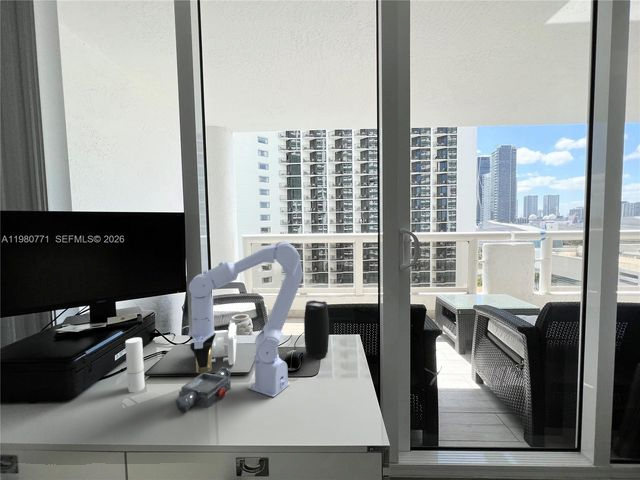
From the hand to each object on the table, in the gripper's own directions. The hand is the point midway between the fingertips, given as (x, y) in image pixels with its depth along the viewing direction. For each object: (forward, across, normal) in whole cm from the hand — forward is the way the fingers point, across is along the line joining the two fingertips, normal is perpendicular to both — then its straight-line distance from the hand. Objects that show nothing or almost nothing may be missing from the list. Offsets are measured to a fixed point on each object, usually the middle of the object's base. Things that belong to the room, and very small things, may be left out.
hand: (204, 362), depth 92 cm
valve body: (+9, 0, 0) cm, 9 cm away
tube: (+10, -7, -21) cm, 24 cm away
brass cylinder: (+2, 0, 0) cm, 2 cm away
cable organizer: (+10, -22, +2) cm, 24 cm away
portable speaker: (+10, -20, +36) cm, 42 cm away
